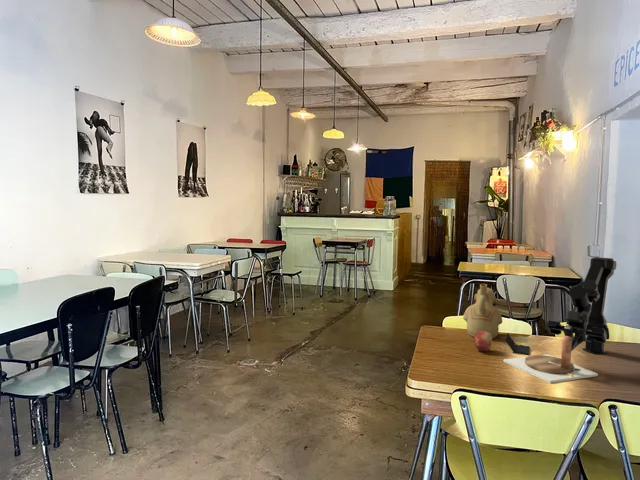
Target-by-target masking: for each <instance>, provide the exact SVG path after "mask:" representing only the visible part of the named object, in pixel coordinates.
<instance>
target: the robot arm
mask: <svg viewBox="0 0 640 480" xmlns="http://www.w3.org/2000/svg"><path fill="white" fill-rule="evenodd" d="M588 268H589V269H588V271H587V273H586V276H585V278H584V280H583V281H582V282H580V283H578V284H576V286H573V287H572V288H570V289H569V290H568V295H569V298H570V302H571V306H573V307H572V309H571V310H566V312H565V314H566V315H565V320H566V322H565V323H566V324H565V325H562V324H561V321H560V320H555V319H554V320H553V319H549V320H548V321H547V323H546V327H547V330H548V333H549V334H551V335H557V336H560V335H562V332H563V336H569V337H572V349H571V352H572V351H573V350H575V349H576V348H577V347H578V346H579V345H580V344H582V343H583V342H585V345H584V347H583V348H581V349H582V350H583V351H586V352H589V353H590V354H591V353H592V354H594V355H600V354H607V353H608V351H606V350H604V348H605V344H606V342H607V340H610V330H609V326H608V324H607V323H608V321H607V319H606V316H605V315H604V313H605V312H604V311H605V304H606V299H607V298H606V296H607V290H608V285H609V284H608V283H609V279H611V277H613V275H614V274H615V273H614V272H615V270H616V269H617V261H615V260H614V258H611V257H610V258H609V257H600V256H596V257H593V258H592V257H591V258H590V264H589V267H588Z"/></svg>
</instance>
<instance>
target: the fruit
mask: <svg viewBox="0 0 640 480" xmlns="http://www.w3.org/2000/svg"><path fill="white" fill-rule="evenodd" d="M472 337H473V336H472ZM492 341H493V338H492V335H491V334H489V333H488V332H485V331H481V332H478V333H477V334H476V335H475V336H474V337H473V344H474V346H475V348H476V349H477V350H478V351H481V352H487V351H490V350H491V349H492V344H493V343H492Z"/></svg>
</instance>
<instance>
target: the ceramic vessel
mask: <svg viewBox="0 0 640 480" xmlns="http://www.w3.org/2000/svg"><path fill="white" fill-rule="evenodd" d="M494 294H495V292H494V290H493V289H492V288H490V287H488V284H486V283H480V284H479V289H478V290H477V293H475V294H474V295H473V296H474V298H473V300H474V301H475V303H473V304H471V305H469V306H468V307H467V308H466V309H465V312H464V313H463V318H462V319H463V320H464V321H465V322H466V331H467V333H468V335H469V336H471V337H474V336H475V335H476V334H477V333H478V332H481V331H485V332H488V333H489V334H491V335H492V339H495V338H496V337H497V336H498V334H499V330H500V329H499V326H500V325H502V324H503V316H502V313H501V311H500V310H499V309H498V308H497V307H495V306H494V305H493V304H495V302H496V299H497V298H496V296H495V295H494Z"/></svg>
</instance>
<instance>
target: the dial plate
mask: <svg viewBox="0 0 640 480" xmlns="http://www.w3.org/2000/svg"><path fill="white" fill-rule="evenodd" d="M543 355H544V356H551V357H555V356H553V355H551V354H547V353H546V354H543ZM526 357H527V356H523V357H522V356H520V357H513V358H505V359H503V361H502V362H503V363H505V364H508V365H510V366H512V367H514V368H516V369H519V370H521V371H523V372H525V373H527V374H529V375H532V376H534V377H535V378H536V377H537V379H540V380H542V381H545V382H546V383H548V384H553V383H559V382H566V381H573V380H580V379H587V378H592V377H593V378H594V377H598V376H599V374H598V373H597V372H595V371H592V370H590V369H587V368H584V367H582V366H579V365H577V364H574V363H572V364H573V365H574V371H573V372H571V373H565V374H558V373H549V372H544V371H540V370H536V369H534V368H531V367H529V366H528V365H526V363H525V358H526Z"/></svg>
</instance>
